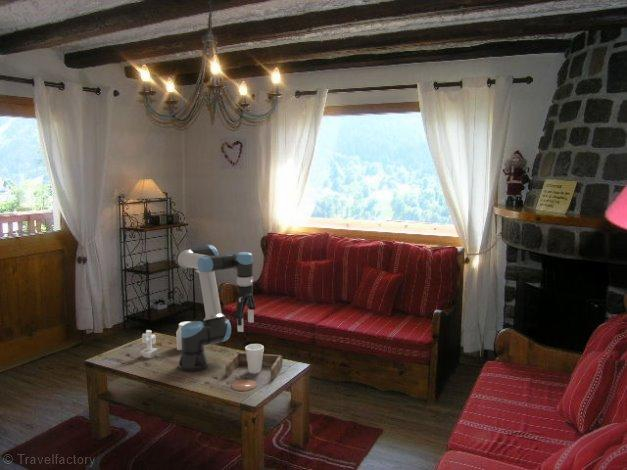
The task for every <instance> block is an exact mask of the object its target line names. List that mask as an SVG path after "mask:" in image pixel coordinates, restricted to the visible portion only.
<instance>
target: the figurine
mask: <svg viewBox="0 0 627 470" xmlns="http://www.w3.org/2000/svg"><path fill="white" fill-rule="evenodd" d="M152 332H153V331H152V330H150V329H146V330H145V333H142V335H141V339H142V340H141V341H142V344H146V347H145V348H144V349H142V350H140V354H141V355H142V357H143V358H145V359H146V358H147V359H151V358H154V357H156V356H157V353H158V352H159V350H160V348H157V347H153V344H154V345H155V344H156V343H157V340H156V335H155V334H152Z"/></svg>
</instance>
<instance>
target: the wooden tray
mask: <svg viewBox="0 0 627 470" xmlns="http://www.w3.org/2000/svg"><path fill="white" fill-rule="evenodd" d="M239 365H244V366H245V365H247V366H248V363H247V356H246V352H242V351H240V352H236V353H235V354H234V355H233V356H232V357H231V358H230V360H229V361H228V362H227V363H226V364H225V376H226V377H230V376H231V375H232V374H233V372H234V371H235V370H236V369H237V367H238V366H239ZM262 367H270V380H271V381H275V379H276V378H277V375H278V374H279V372H280V370H281V369H282V368H283V355H280V354H270V353H269V354H267V353H266V354H265V353H263V359H262Z"/></svg>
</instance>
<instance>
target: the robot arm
mask: <svg viewBox="0 0 627 470" xmlns="http://www.w3.org/2000/svg"><path fill="white" fill-rule="evenodd" d="M174 259H175V260H174V261H175V264H177V266H178V267H180V268H182V269H191V268H192V269H195V272H196V273H198V277H199V282H200V287H201V294H202V301H203V306H204V313H205V318H204V319H203V321H200V320H194V321H190V322H189V323H187V324H185V325H184V326H183V327H182V328H181V345H182V350H181V355H180V358H179V362H178V369H179V370H180V371H182V372H186V373H187V372H188V373H191V372H193V373H194V372H199V371H203V370H205V369H206V368H208V366H209V361H208V358H207V355H206V352H205V346H208V345H213V344H218V343H222V342H226V341H228V340H229V339H230V337H231V334H232V325H231V322H230V320H229V319H228V318H226V315H224V313H222V307H221V302H220V297H219V296H220V295H219V290H218V285H217V278H216V272H219V271H228V270H236V284H237V286H236V289H237V291H236V292H237V293H238V294H239V295H240V297H237V299H236V300H237V301H236V302H237V303H236V310H235V314H234V315H235V317H234V318H235V319H236V320H237V321H236V322H237V327H236V329H237V332H238V333H239V332H241V333H243V332H244V314H245V308H246V306H247V308H248V309H247V322H248V323H253V324H254V322H255V320H254V318H255V317H254V310H255V309H256V303H255V299H254V285H253V282H254V277H253V275H254V274H253V273H254V271H253V269H254V268H253V262H254V260H253V254H252V253H251V252H247V251H241V252H228V253H226V254H219V251H218V249H217V248H216V247H215V246H214V245H212V244H202V245H195V246H185V247H182V248H180V249H179V250H178V251H177V252H176V254H175V258H174Z"/></svg>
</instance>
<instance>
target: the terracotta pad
mask: <svg viewBox="0 0 627 470" xmlns="http://www.w3.org/2000/svg"><path fill="white" fill-rule="evenodd" d="M256 387H257V382H256V381H255V380H253V379H249V378H248V379H247V378H244V379H237V380H235V381H233V382H232V383H231V389H233V391H234V390H235V391H238V392H239V391H240V392H249V391H251V390H253V389H255V388H256Z"/></svg>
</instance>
